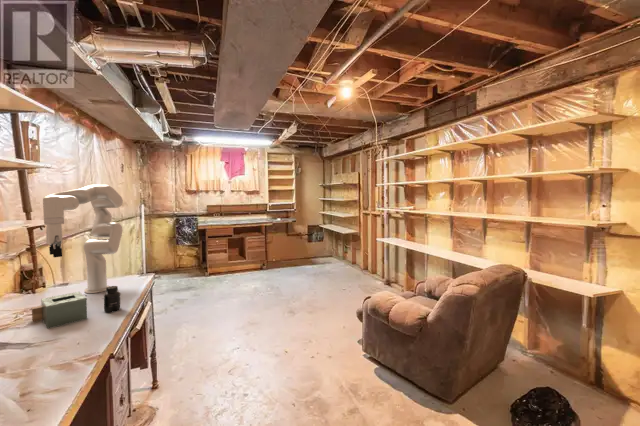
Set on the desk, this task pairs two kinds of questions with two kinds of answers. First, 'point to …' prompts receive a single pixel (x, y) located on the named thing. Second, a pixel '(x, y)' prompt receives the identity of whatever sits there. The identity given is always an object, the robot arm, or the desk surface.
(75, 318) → the box
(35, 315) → the token
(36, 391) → the desk surface
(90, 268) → the robot arm
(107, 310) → the supplement bottle
